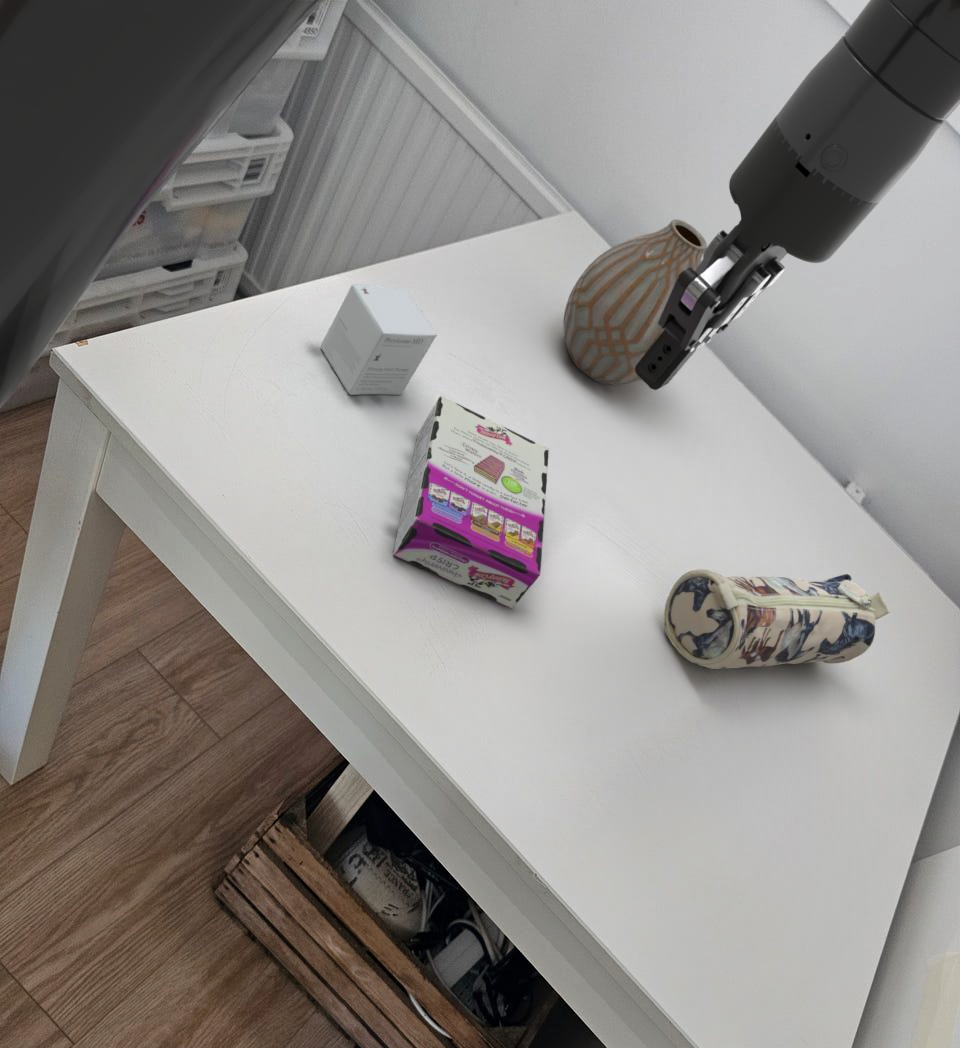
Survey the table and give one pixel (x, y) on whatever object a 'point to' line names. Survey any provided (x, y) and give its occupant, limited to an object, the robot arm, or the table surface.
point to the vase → (627, 301)
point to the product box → (377, 340)
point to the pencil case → (769, 620)
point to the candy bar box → (475, 504)
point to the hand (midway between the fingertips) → (648, 378)
